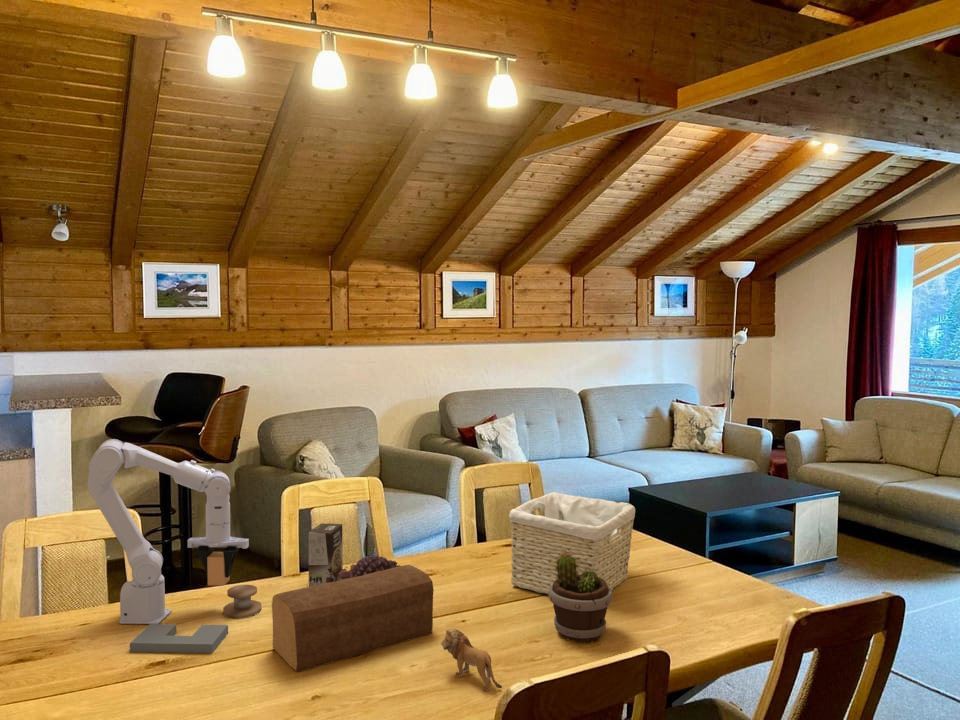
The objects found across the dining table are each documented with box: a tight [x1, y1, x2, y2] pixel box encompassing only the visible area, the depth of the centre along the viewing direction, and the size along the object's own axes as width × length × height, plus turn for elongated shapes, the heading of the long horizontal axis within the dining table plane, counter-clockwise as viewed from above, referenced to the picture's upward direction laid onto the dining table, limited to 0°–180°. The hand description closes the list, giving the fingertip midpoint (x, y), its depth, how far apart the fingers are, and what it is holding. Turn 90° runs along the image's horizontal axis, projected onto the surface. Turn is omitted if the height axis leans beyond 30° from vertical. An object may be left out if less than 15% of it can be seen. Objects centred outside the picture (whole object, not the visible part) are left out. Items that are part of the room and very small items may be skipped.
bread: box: [271, 564, 434, 673], centre depth 172 cm, size 14×34×14 cm, turn 126°
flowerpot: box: [548, 548, 613, 643], centre depth 177 cm, size 14×15×20 cm
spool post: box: [222, 584, 262, 619], centre depth 189 cm, size 9×9×5 cm
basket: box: [508, 491, 636, 595], centre depth 209 cm, size 27×27×22 cm
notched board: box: [129, 623, 229, 654], centre depth 171 cm, size 18×10×2 cm, turn 89°
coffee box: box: [308, 522, 344, 587], centre depth 205 cm, size 9×6×16 cm
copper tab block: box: [207, 551, 231, 587], centre depth 189 cm, size 4×4×7 cm
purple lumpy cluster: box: [337, 554, 401, 579], centre depth 201 cm, size 18×10×10 cm, turn 109°
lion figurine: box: [440, 627, 503, 692], centre depth 155 cm, size 15×5×9 cm, turn 52°
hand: (218, 575), depth 189 cm, fingers closed on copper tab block, 4 cm apart
